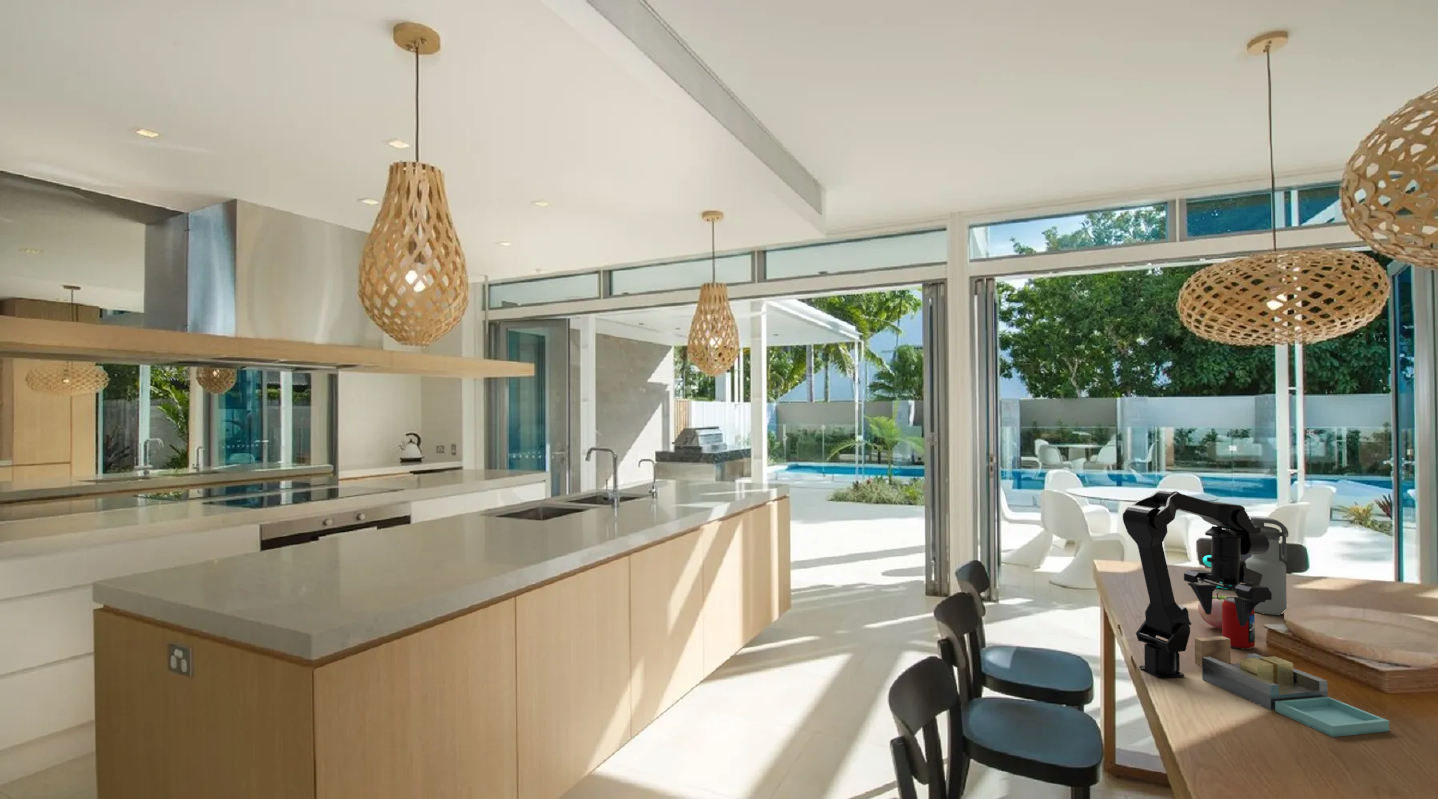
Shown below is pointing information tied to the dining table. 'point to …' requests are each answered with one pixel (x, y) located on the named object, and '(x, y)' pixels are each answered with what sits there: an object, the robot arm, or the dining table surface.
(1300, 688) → the slot block
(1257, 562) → the water bottle
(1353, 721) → the tray
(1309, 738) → the dining table surface
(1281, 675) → the yellow cube
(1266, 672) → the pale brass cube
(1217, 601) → the decorative fruit
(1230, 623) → the beverage can
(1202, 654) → the wooden block
